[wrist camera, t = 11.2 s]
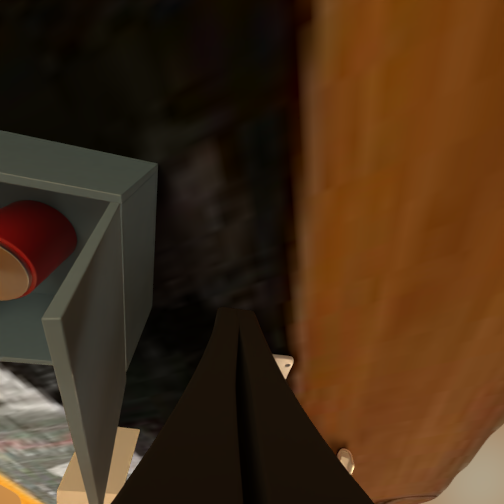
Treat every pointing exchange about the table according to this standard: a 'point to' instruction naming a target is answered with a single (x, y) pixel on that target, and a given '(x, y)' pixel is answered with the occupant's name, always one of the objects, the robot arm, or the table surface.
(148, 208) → the carton
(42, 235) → the can
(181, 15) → the table surface
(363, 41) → the table surface
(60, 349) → the carton flap
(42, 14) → the table surface
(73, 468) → the tan cube
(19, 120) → the table surface
